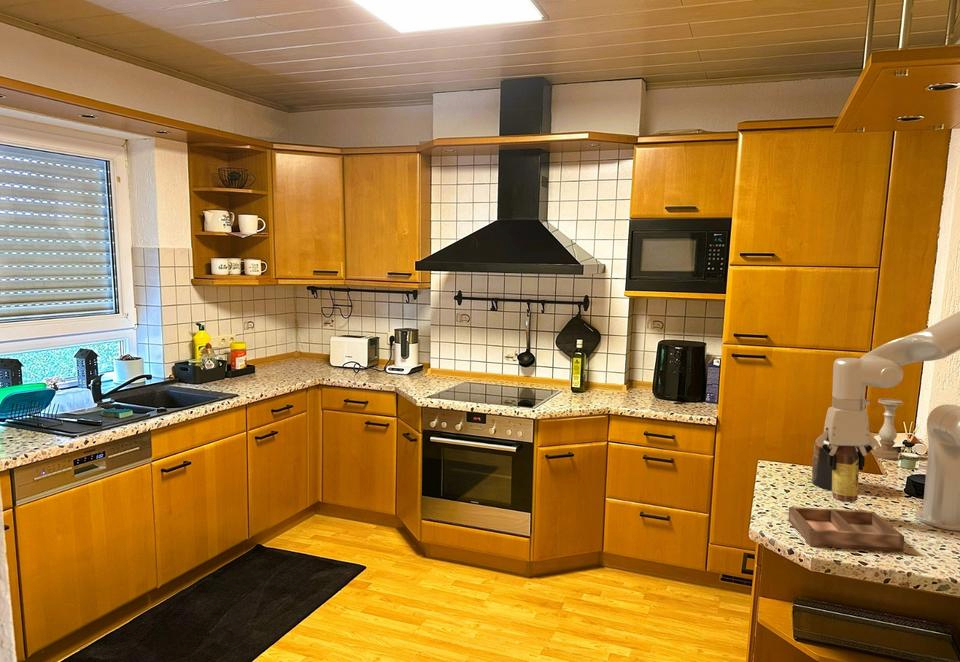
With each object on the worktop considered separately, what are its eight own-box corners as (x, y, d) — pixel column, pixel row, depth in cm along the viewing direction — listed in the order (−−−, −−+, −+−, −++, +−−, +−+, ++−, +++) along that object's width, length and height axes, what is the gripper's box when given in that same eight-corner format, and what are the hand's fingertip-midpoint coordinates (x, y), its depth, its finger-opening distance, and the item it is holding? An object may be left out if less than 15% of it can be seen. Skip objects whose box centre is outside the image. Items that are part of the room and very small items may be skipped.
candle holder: (867, 451, 232) (872, 397, 229) (894, 453, 230) (898, 398, 228) (877, 458, 223) (882, 402, 221) (905, 460, 221) (910, 404, 219)
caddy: (872, 526, 166) (873, 511, 165) (902, 552, 151) (904, 536, 150) (788, 521, 168) (789, 506, 168) (809, 546, 153) (811, 530, 153)
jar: (813, 488, 193) (816, 441, 191) (809, 477, 203) (812, 431, 202) (857, 494, 188) (861, 445, 187) (851, 482, 199) (855, 435, 197)
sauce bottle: (861, 503, 169) (864, 431, 167) (836, 502, 170) (838, 430, 168) (852, 495, 175) (854, 425, 173) (827, 494, 176) (830, 424, 174)
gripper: (875, 401, 172) (872, 465, 174) (808, 400, 175) (806, 463, 176) (889, 407, 165) (886, 474, 167) (819, 406, 167) (817, 472, 169)
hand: (845, 468), depth 172 cm, fingers closed on sauce bottle, 6 cm apart
